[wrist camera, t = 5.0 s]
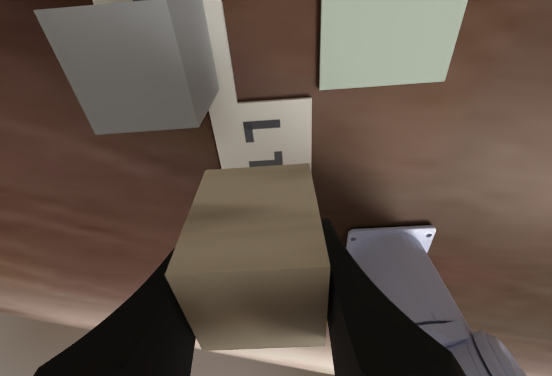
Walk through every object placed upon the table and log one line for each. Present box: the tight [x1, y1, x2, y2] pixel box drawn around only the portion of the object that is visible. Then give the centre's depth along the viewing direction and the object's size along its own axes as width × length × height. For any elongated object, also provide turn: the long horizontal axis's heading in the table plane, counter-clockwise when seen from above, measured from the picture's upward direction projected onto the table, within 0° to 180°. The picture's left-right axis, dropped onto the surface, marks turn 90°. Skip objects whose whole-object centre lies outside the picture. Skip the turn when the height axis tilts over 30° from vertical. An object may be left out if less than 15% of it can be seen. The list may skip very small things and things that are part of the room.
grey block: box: [33, 0, 219, 135], centre depth 14 cm, size 5×5×6 cm
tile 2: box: [209, 97, 312, 170], centre depth 20 cm, size 7×7×1 cm
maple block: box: [165, 163, 330, 351], centre depth 12 cm, size 5×5×6 cm
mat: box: [319, 0, 468, 90], centre depth 15 cm, size 8×8×1 cm
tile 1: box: [92, 0, 238, 106], centre depth 16 cm, size 7×7×1 cm
